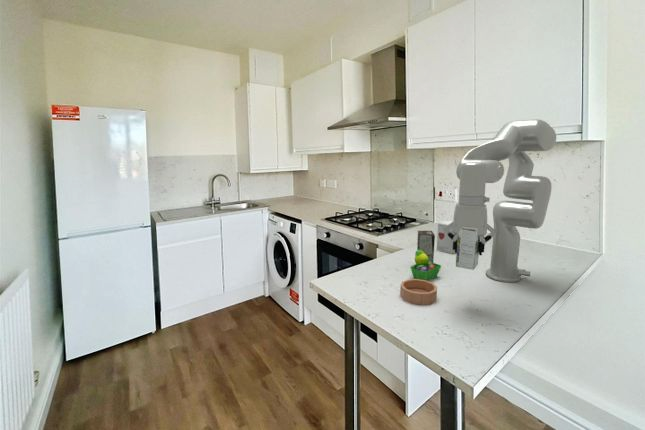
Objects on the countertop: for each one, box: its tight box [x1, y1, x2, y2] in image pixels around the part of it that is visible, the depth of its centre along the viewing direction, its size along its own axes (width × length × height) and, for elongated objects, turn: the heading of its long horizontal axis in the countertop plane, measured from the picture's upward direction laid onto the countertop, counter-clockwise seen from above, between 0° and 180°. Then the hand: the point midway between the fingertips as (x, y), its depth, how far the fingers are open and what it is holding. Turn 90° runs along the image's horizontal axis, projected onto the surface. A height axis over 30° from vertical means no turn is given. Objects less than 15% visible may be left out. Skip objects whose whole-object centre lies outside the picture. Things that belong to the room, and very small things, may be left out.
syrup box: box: [455, 226, 481, 271], centre depth 106 cm, size 6×6×14 cm
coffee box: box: [416, 230, 436, 263], centre depth 142 cm, size 9×6×16 cm
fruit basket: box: [410, 249, 442, 281], centre depth 131 cm, size 11×9×11 cm
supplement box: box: [436, 219, 458, 255], centre depth 165 cm, size 9×9×15 cm
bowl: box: [399, 278, 438, 306], centre depth 115 cm, size 12×12×4 cm
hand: (467, 252), depth 106 cm, fingers closed on syrup box, 6 cm apart
